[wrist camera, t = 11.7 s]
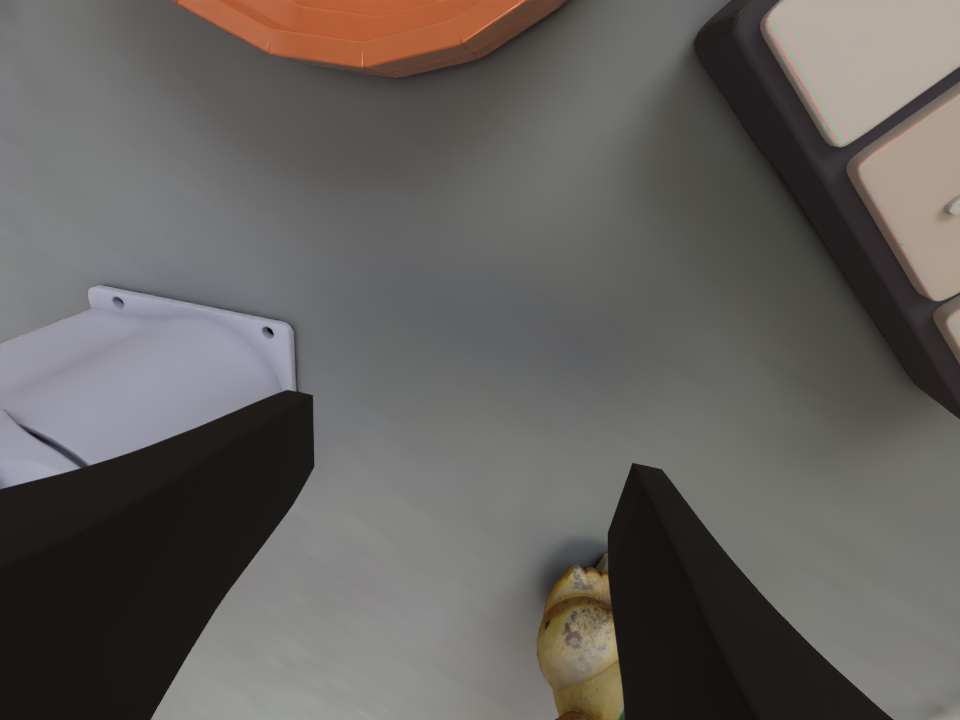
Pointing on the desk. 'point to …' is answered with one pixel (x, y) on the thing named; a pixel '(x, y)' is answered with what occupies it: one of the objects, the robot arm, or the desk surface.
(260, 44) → the bowl
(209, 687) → the desk surface
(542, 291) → the desk surface
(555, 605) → the decorative figurine
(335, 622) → the desk surface
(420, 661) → the desk surface
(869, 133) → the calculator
